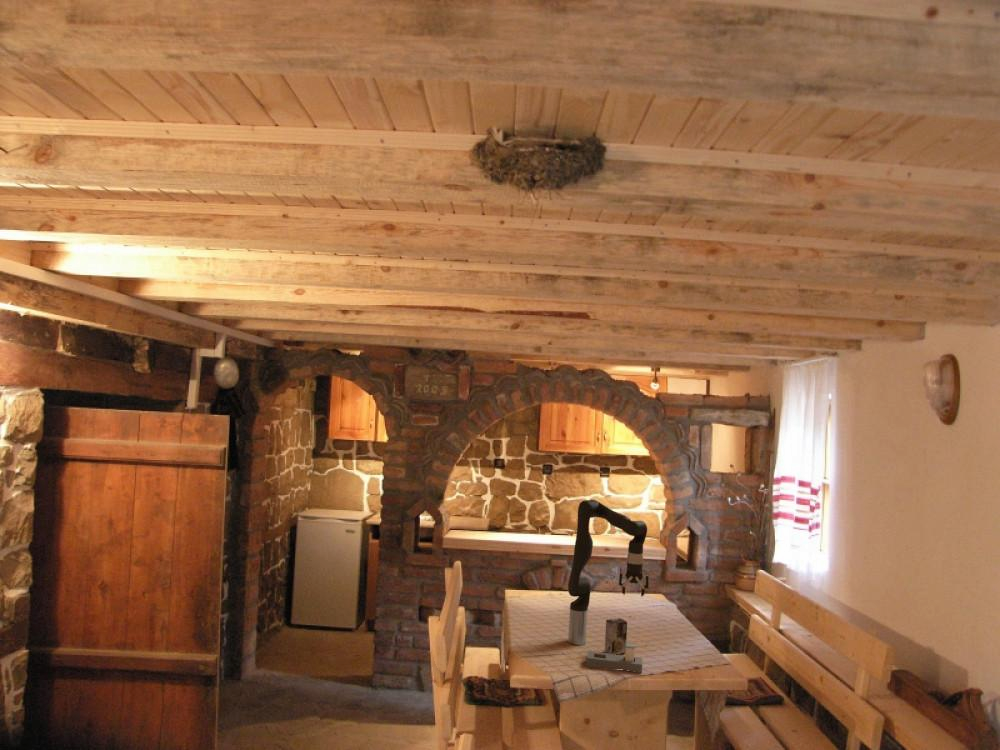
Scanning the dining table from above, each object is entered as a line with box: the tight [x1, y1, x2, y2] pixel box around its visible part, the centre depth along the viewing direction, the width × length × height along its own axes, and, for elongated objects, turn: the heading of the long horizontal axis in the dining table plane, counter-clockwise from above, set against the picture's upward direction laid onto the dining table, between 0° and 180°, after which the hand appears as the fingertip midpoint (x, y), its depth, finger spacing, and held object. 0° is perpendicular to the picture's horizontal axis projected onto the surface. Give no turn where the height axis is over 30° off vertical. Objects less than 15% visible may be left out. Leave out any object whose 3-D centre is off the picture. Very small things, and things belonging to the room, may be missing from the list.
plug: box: [624, 643, 636, 662], centre depth 363 cm, size 4×4×11 cm
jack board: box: [585, 650, 643, 674], centre depth 364 cm, size 10×26×4 cm, turn 80°
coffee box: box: [604, 617, 628, 655], centre depth 385 cm, size 9×6×16 cm
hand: (632, 595), depth 370 cm, fingers open, 8 cm apart
